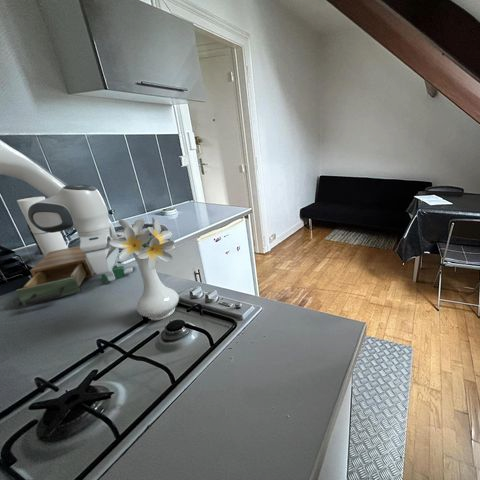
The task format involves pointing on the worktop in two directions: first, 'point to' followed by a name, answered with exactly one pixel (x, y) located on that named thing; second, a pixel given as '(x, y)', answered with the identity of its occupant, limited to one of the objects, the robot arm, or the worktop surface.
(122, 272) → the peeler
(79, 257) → the cabinet
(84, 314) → the worktop surface
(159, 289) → the flower vase
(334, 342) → the worktop surface
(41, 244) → the cylindrical container
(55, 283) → the drawer
